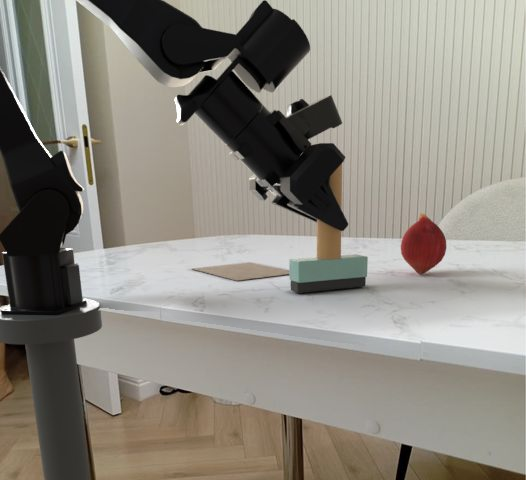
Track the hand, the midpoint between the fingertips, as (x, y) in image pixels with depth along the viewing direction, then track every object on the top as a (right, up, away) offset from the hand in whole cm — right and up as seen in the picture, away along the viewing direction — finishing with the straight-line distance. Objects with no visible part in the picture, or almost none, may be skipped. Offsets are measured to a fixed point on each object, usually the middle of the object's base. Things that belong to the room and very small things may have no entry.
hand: (340, 227), depth 68 cm
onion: (+12, -4, +11) cm, 17 cm away
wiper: (-1, -7, +2) cm, 7 cm away
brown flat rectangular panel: (-12, -3, +18) cm, 21 cm away
